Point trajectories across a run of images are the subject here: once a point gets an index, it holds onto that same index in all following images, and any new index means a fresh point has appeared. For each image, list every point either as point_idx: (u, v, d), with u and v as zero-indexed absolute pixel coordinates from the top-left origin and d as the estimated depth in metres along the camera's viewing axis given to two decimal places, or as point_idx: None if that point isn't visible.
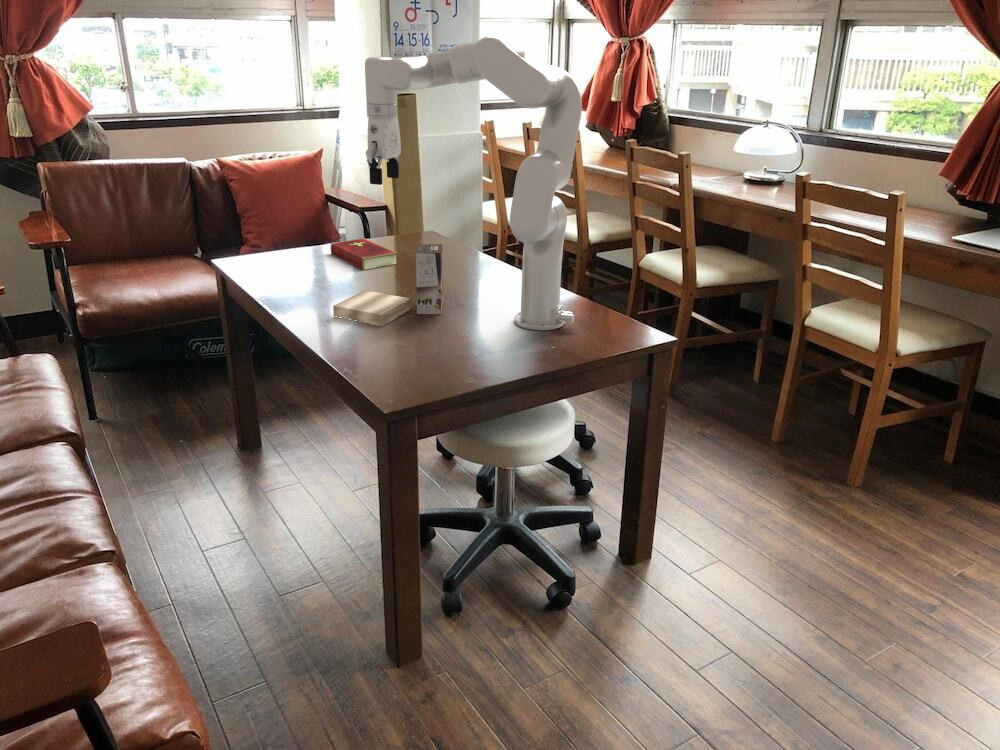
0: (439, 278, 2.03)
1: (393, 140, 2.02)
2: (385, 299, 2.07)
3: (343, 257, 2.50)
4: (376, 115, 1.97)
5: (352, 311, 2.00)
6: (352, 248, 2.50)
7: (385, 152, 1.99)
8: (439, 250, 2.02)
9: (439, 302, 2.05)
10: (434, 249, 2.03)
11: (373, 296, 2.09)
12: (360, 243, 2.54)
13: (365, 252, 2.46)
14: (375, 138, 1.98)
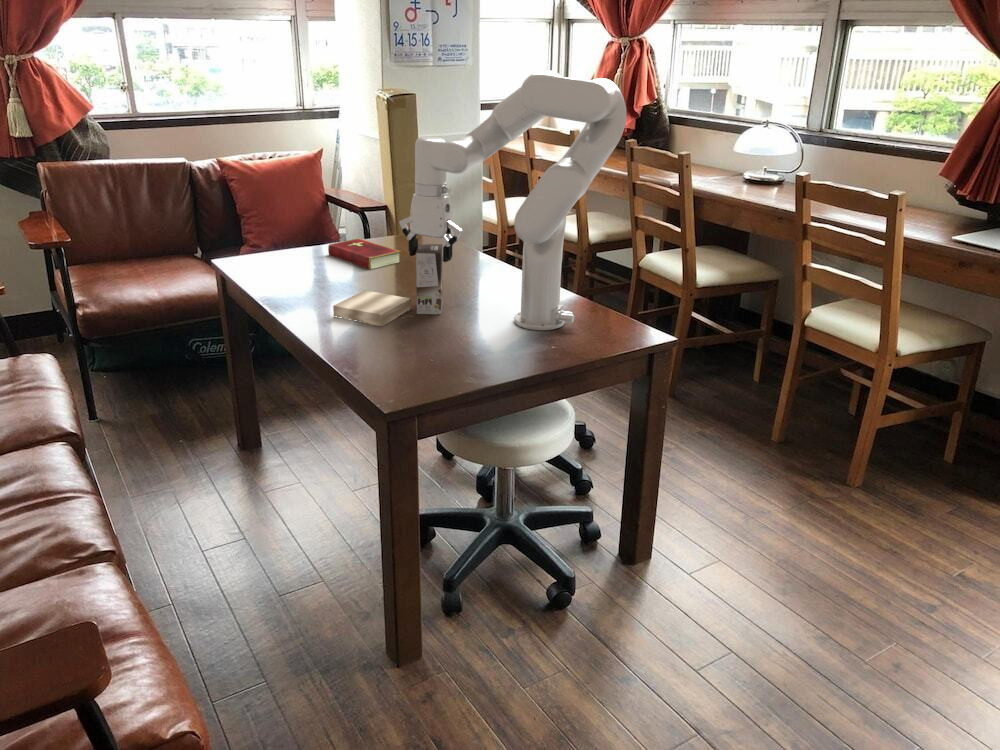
0: (439, 278, 2.03)
1: None
2: (385, 299, 2.07)
3: (344, 258, 2.49)
4: (444, 194, 1.97)
5: (352, 311, 2.00)
6: (353, 248, 2.49)
7: None
8: (439, 250, 2.02)
9: (439, 302, 2.05)
10: (434, 249, 2.03)
11: (373, 296, 2.09)
12: (359, 243, 2.54)
13: (369, 252, 2.46)
14: (449, 216, 1.99)
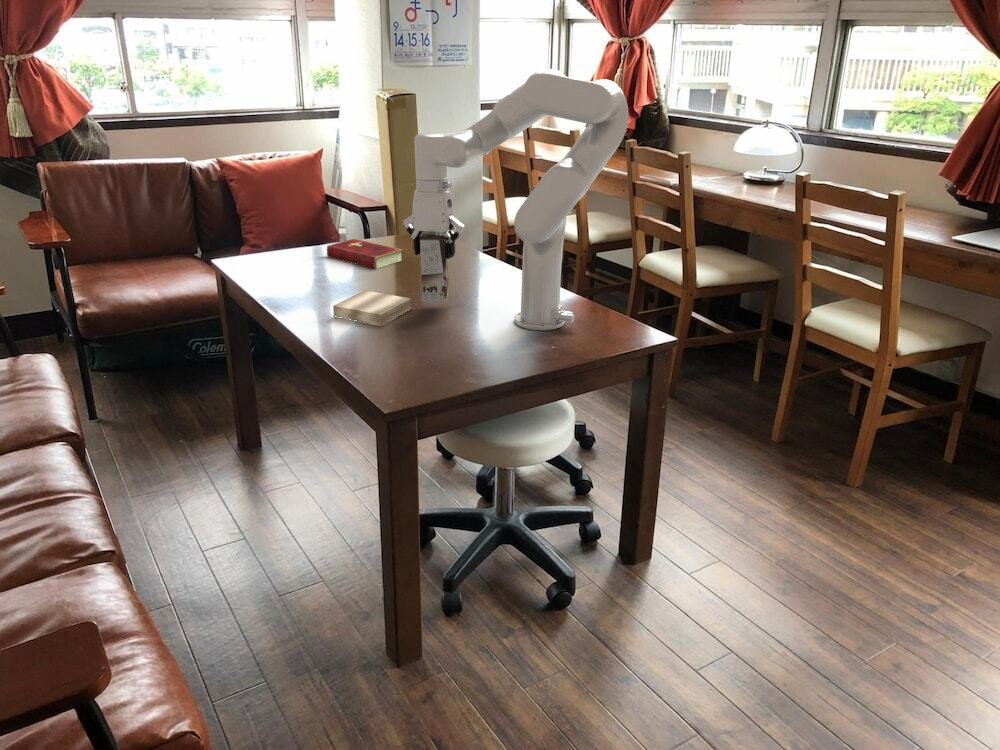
0: (444, 265, 2.01)
1: None
2: (385, 299, 2.07)
3: (346, 258, 2.48)
4: (445, 189, 1.97)
5: (352, 311, 2.00)
6: (354, 249, 2.49)
7: None
8: (443, 237, 2.01)
9: (444, 289, 2.03)
10: (438, 236, 2.01)
11: (373, 296, 2.09)
12: (357, 243, 2.54)
13: (372, 252, 2.46)
14: (451, 212, 1.98)
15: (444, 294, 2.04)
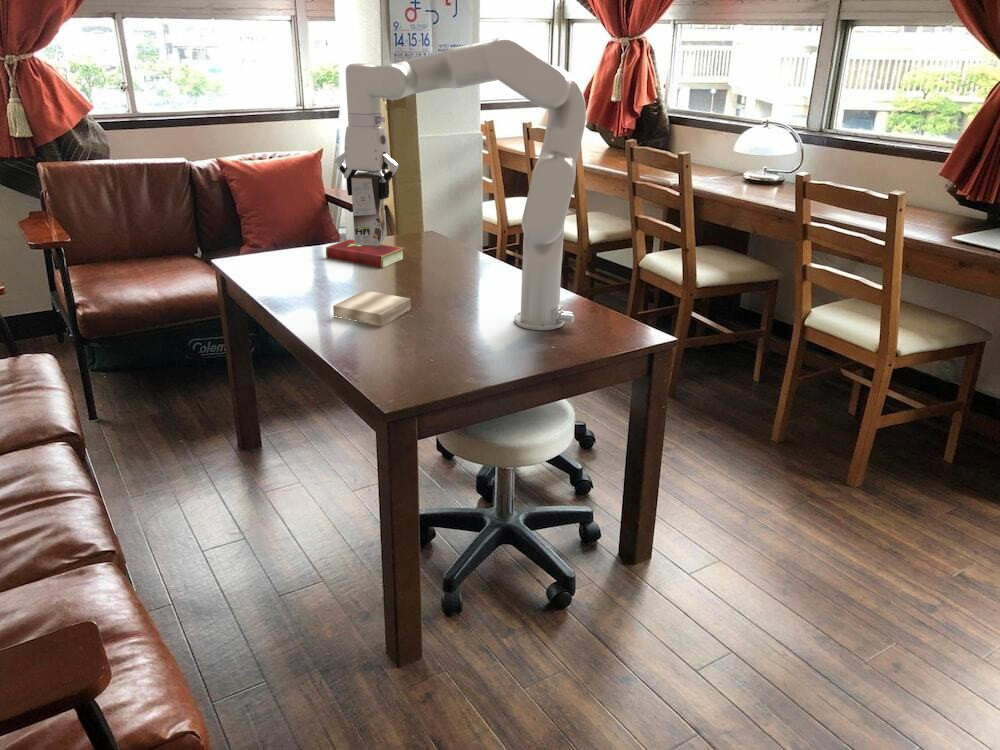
0: (377, 206, 1.91)
1: None
2: (385, 299, 2.07)
3: (348, 259, 2.48)
4: (379, 125, 1.86)
5: (352, 311, 2.00)
6: (355, 249, 2.49)
7: None
8: (377, 176, 1.91)
9: (378, 232, 1.93)
10: (372, 175, 1.91)
11: (373, 296, 2.09)
12: None
13: (375, 251, 2.47)
14: (385, 149, 1.88)
15: (377, 237, 1.94)
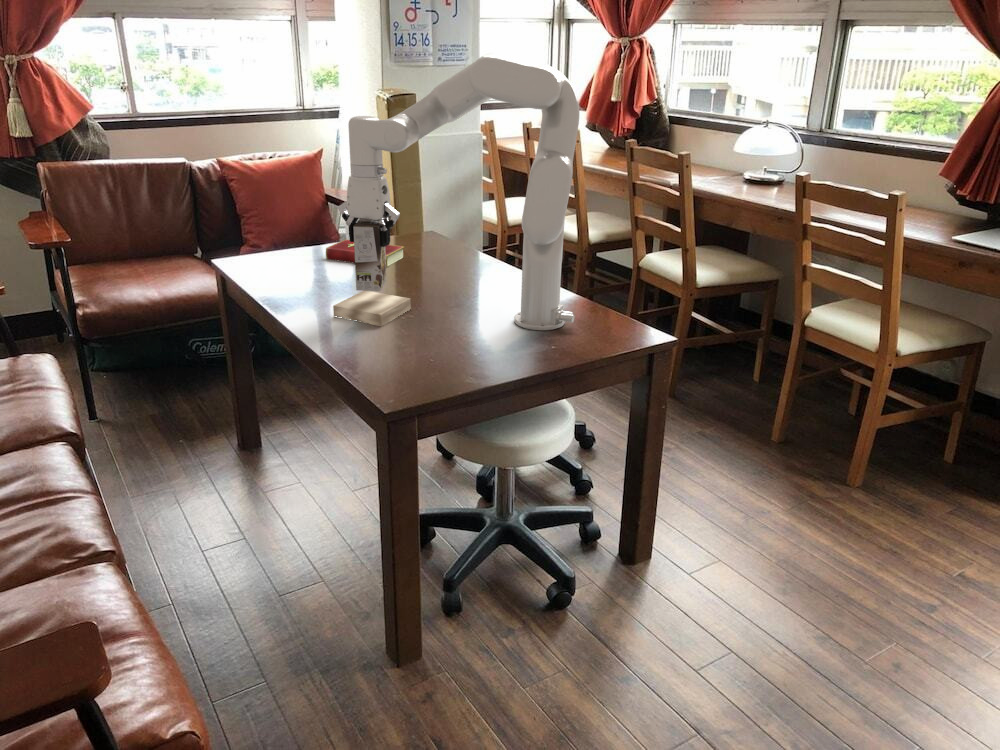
0: (378, 253, 1.96)
1: None
2: (385, 299, 2.07)
3: (350, 259, 2.48)
4: (380, 175, 1.91)
5: (352, 311, 2.00)
6: None
7: None
8: (378, 224, 1.95)
9: (379, 278, 1.98)
10: (373, 223, 1.96)
11: (373, 296, 2.09)
12: None
13: None
14: (386, 199, 1.93)
15: (378, 283, 1.99)
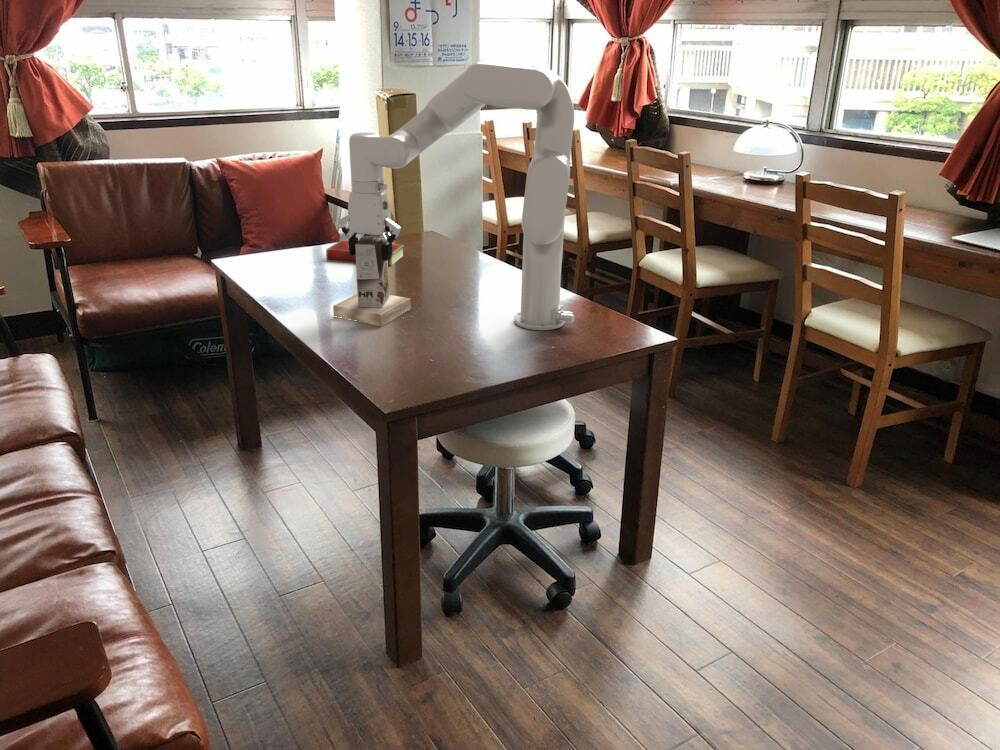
0: (380, 270, 1.97)
1: None
2: None
3: (352, 260, 2.47)
4: (381, 191, 1.93)
5: (352, 311, 2.00)
6: None
7: None
8: (380, 242, 1.97)
9: (380, 295, 2.00)
10: (375, 241, 1.97)
11: None
12: None
13: None
14: (387, 214, 1.94)
15: (380, 300, 2.00)
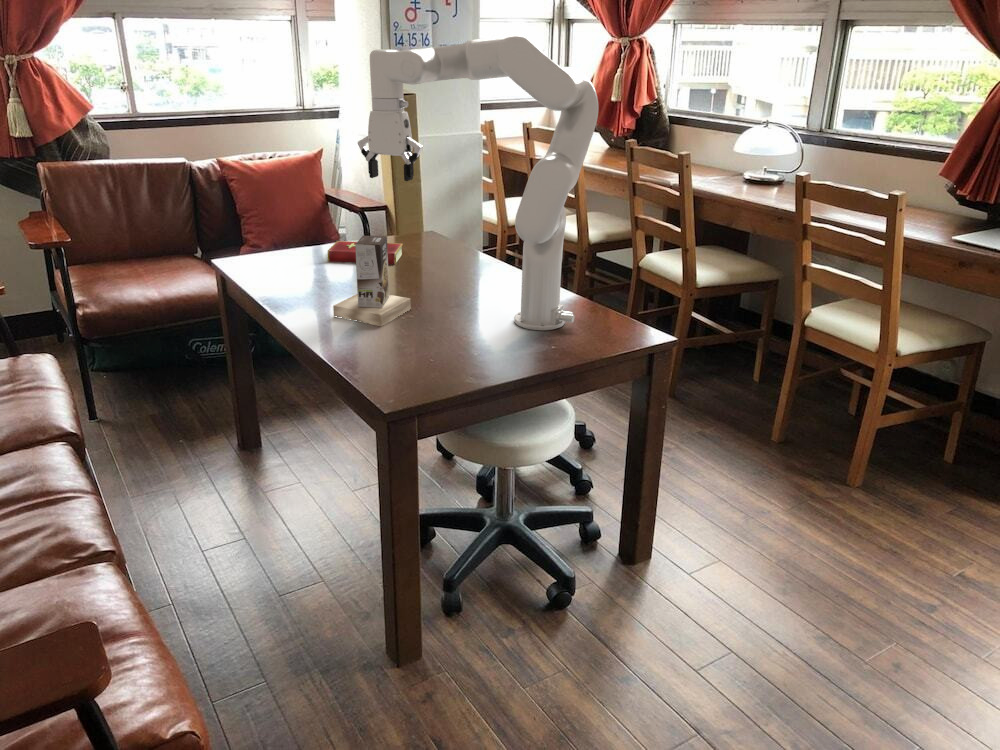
0: (380, 270, 1.97)
1: None
2: None
3: (355, 260, 2.47)
4: (402, 109, 1.91)
5: (352, 311, 2.00)
6: None
7: None
8: (380, 242, 1.97)
9: (380, 295, 2.00)
10: (375, 241, 1.97)
11: None
12: (353, 244, 2.53)
13: None
14: (408, 132, 1.93)
15: (380, 300, 2.00)
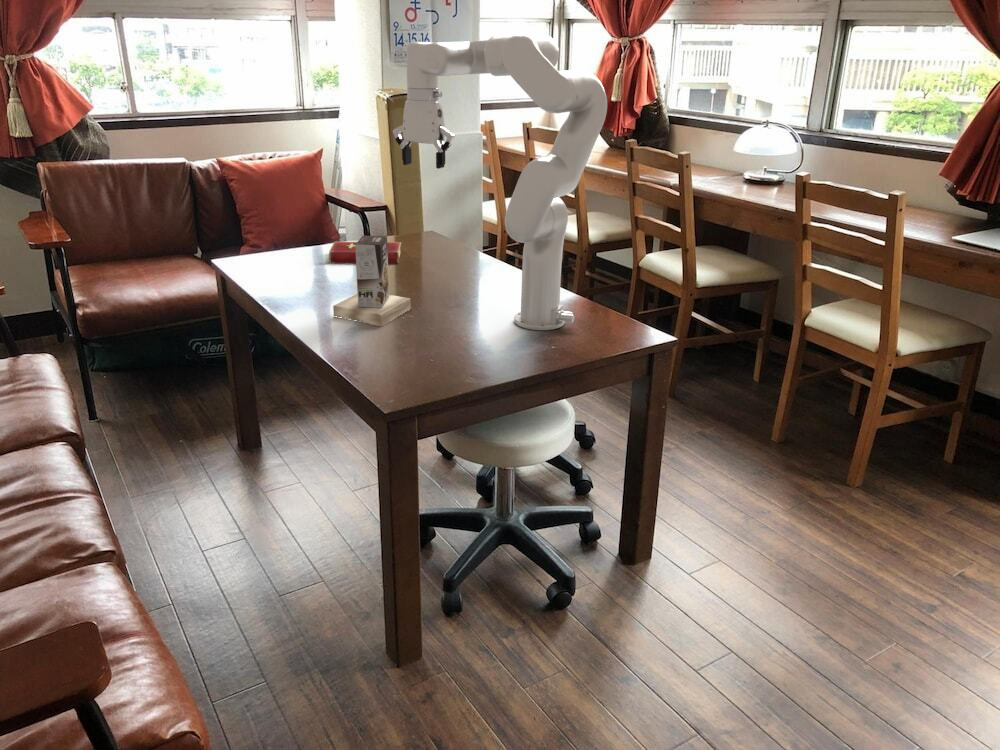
0: (380, 270, 1.97)
1: None
2: None
3: None
4: (436, 99, 2.00)
5: (352, 311, 2.00)
6: None
7: None
8: (380, 242, 1.97)
9: (380, 295, 2.00)
10: (375, 241, 1.97)
11: None
12: (352, 244, 2.52)
13: None
14: (441, 122, 2.02)
15: (380, 300, 2.00)
